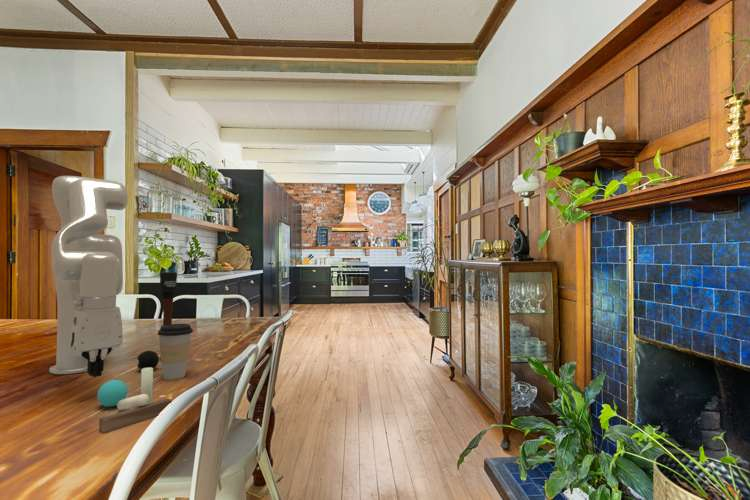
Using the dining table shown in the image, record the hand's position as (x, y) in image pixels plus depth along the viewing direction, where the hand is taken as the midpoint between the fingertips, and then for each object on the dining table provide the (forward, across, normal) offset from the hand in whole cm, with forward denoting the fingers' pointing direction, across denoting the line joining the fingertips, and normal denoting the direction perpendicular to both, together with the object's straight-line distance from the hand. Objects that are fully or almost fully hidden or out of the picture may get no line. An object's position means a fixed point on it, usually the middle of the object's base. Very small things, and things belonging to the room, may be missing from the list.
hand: (95, 375), depth 99 cm
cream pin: (+4, 0, -15) cm, 15 cm away
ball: (+2, 0, -10) cm, 10 cm away
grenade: (+7, +30, +19) cm, 36 cm away
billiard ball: (+7, +20, +12) cm, 24 cm away
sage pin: (+4, +4, -18) cm, 19 cm away
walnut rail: (+4, -1, -24) cm, 24 cm away
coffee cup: (+6, +21, -1) cm, 21 cm away
